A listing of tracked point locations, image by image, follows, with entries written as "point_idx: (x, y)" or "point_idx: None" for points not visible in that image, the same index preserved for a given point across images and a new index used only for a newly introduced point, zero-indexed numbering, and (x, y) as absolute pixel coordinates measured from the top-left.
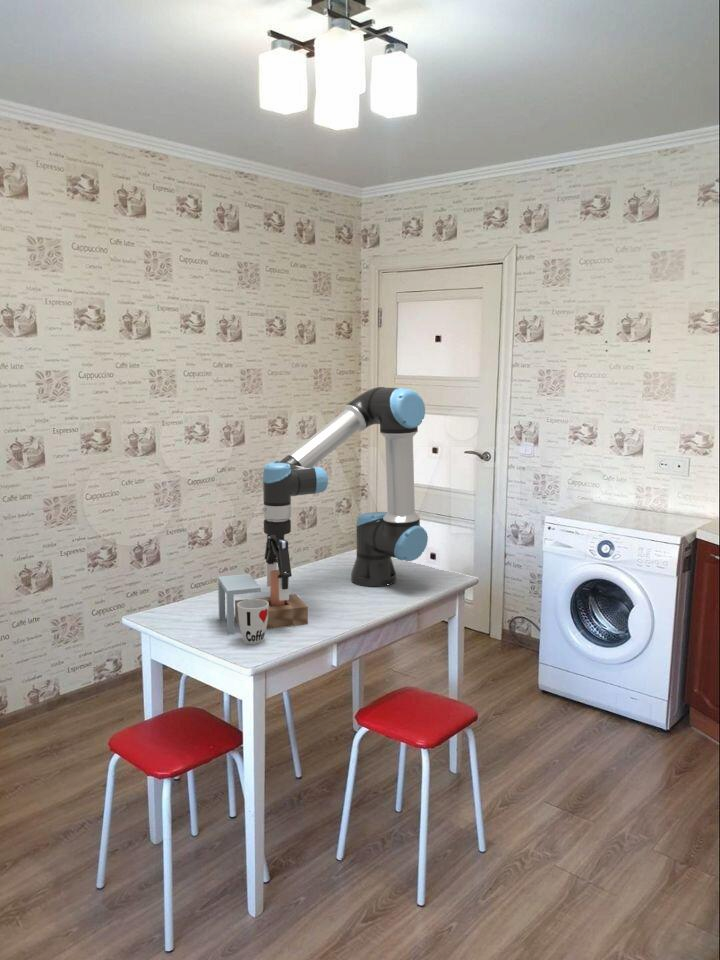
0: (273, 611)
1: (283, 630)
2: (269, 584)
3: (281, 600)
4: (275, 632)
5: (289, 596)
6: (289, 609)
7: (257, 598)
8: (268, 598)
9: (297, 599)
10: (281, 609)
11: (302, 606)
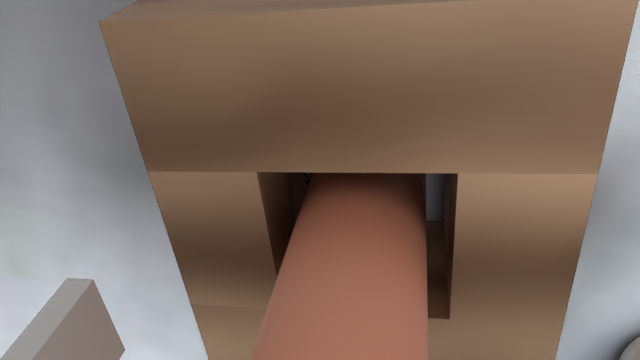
0: (561, 322)
1: (617, 179)
2: (108, 351)
3: (423, 266)
4: (625, 234)
5: (178, 108)
6: (589, 201)
7: (209, 340)
8: (219, 281)
9: (296, 49)
10: (567, 270)
11: (585, 54)
